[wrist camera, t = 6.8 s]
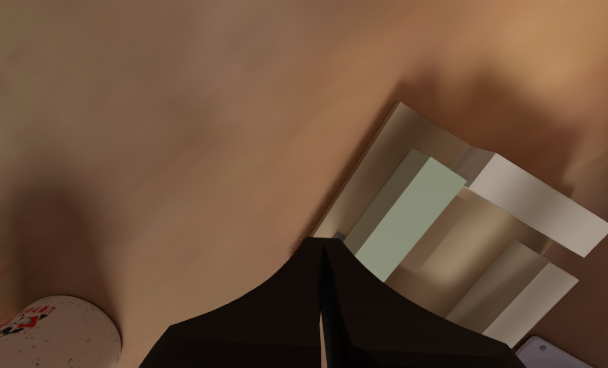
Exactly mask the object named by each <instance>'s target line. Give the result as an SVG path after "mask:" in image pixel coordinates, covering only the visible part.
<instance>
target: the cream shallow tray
mask: <svg viewBox="0 0 608 368" xmlns="http://www.w3.org/2000/svg"><path fill="white" fill-rule="evenodd" d="M412 148H413V149H415V150H417V151H419V152H421V153H424V154H426V155H428V156H430V157H432V158H433V159H435V160H436V161H438V162H439V163H441V164H442V165H444V166H445V167H447V168H448V169H450V170H451V171H453V172H454V173H456V174H457V175H459V176H461V177H462V178H464V179H465V180H467V182H466V183H465V185H464V186H463V187H462V188H461V189H460V191H459V192H458V193H457V194H456V196H455V197H454V198H453V199H452V200H451V202H450V203H449V204H448V205H447V206H446V208H445V209H444V210H443V211H442V212H441V214H440V215H439V216H438V217H437V219H436V220H435V221H434V222H433V223H432V225H431V226H430V227H429V228H428V229H427V231H426V232H425V233H424V234H423V235H422V237H421V238H420V239H419V240H418V242H417V243H416V244H415V245H414V246H413V248H412V249H411V250H410V251H409V252H408V254H407V255H406V256H405V257H404V258H403V260H402V261H401V262H400V263H399V265H398V266H397V267H396V268H395V269H394V271H393V272H392V273H391V274H390V275H389V277H388V278H387V279H386V280H385V281H384V283H385V284H386V285H388V286H389V287H391V288H392V289H393V290H395V291H396V292H398V293H399V294H401V295H402V296H404V297H405V298H407V299H409V300H411V301H412V302H414V303H416V304H417V305H419V306H421V307H423V308H424V309H426V310H428V311H430V312H432V313H434V314H436V315H438V316H440V317H442V318H444V319H447V320H449V321H451V322H453V323H455V324H457V325H460V326H462V327H464V328H467V329H470V330H472V331H475V332H477V333H480V334H483V335H485V336H488V337H490V338H493V339H496V340H498V341H501V342H504V343H506V344H507V345H508V346H509V347H510V348H512V347H513V346H514V345H515V344H516V343H517V342H518V341H519V340H520V339H521V338H522V337H523V336H524V335H525V334H526V333H527V332H528V331H529V330H530V329H531V328H532V327H533V326H534V325H535V324H536V323H537V322H538V321H539V320H540V319H541V318H542V317H543V316H544V315H545V314H546V313H547V312H548V311H549V310H550V309H551V308H552V307H553V306H554V305H555V304H556V303H557V302H558V301H559V300H560V299H561V298H562V297H563V296H564V295H565V294H566V293H567V292H568V291H569V290H570V289H571V288H572V287H573V286H574V285H575V284H576V283H577V282H578V281H579V280H578V279H577V278H575V277H574V276H572V275H571V274H569V273H568V272H566V271H565V270H563V269H562V268H560V267H559V266H557V265H556V264H554V263H553V262H551V261H550V260H548V259H547V258H545V257H544V256H543V255H544V254H545V253H546V251H547V250H548V249H549V248H550V247H551V246H552V245H553V244H554V243H555V242H557V243H559V244H561V245H563V246H564V247H566V248H568V249H570V250H571V251H573V252H575V253H577V254H578V255H580V256H582V257H585V256H586V255H587V254H588V253H589V252H590V251H591V250H592V249H593V248H594V247H595V246H596V245H597V244H598V243H599V242H600V241H601V240H602V239H603V238H604V237H605V236H606V235H607V234H608V223H607V222H606V221H604V220H602V219H601V218H599V217H598V216H596V215H594V214H593V213H591V212H590V211H588V210H586V209H585V208H583V207H582V206H580V205H579V204H577V203H575V202H574V201H572V200H571V199H569V198H567V197H566V196H564V195H563V194H561V193H559V192H558V191H556V190H555V189H553V188H551V187H550V186H548V185H547V184H545V183H543V182H542V181H540V180H539V179H537V178H535V177H534V176H532V175H531V174H529V173H527V172H526V171H524V170H523V169H521V168H520V167H518V166H516V165H515V164H513V163H512V162H510V161H508V160H507V159H505V158H504V157H502V156H500V155H499V154H497V153H495V152H491V151H487V150H483V149H480V148H476V147H472V146H471V145H469V144H468V143H466V142H464V141H463V140H461V139H460V138H458V137H456V136H455V135H453V134H452V133H450V132H448V131H447V130H445V129H444V128H442V127H440V126H439V125H437V124H436V123H434V122H432V121H431V120H429V119H428V118H426V117H424V116H423V115H421V114H420V113H418V112H416V111H415V110H413V109H412V108H410V107H408V106H407V105H405V104H404V103H402V102H395V103H394V105H393V107H392V108H391V110H390V111H389V113H388V114H387V116H386V117H385V119H384V121H383V122H382V124H381V125H380V127H379V128H378V130H377V131H376V133H375V135H374V136H373V138H372V139H371V141H370V142H369V144H368V145H367V147H366V148H365V150H364V152H363V153H362V155H361V156H360V158H359V159H358V161H357V162H356V164H355V166H354V167H353V169H352V170H351V172H350V173H349V175H348V176H347V178H346V180H345V181H344V183H343V184H342V186H341V187H340V189H339V190H338V192H337V194H336V195H335V197H334V198H333V200H332V201H331V203H330V204H329V206H328V208H327V209H326V211H325V212H324V214H323V215H322V217H321V218H320V220H319V222H318V223H317V225H316V226H315V228H314V229H313V231H312V232H311V234H310V236H309V237H324V238H340V239H341V240H342V242H343V241H344V240H345V238H346V237H347V236H348V234H349V233H350V231H351V230H352V229H353V227H354V226H355V225H356V223H357V222H358V221H359V219H360V218H361V217H362V215H363V214H364V213H365V211H366V210H367V209H368V207H369V206H370V204H371V203H372V202H373V200H374V199H375V198H376V196H377V195H378V194H379V192H380V191H381V190H382V188H383V187H384V186H385V184H386V183H387V182H388V180H389V179H390V178H391V176H392V175H393V173H394V172H395V171H396V169H397V168H398V167H399V165H400V164H401V163H402V161H403V160H404V159H405V157H406V156H407V155H408V153H409V152H410V151H411V149H412Z"/></svg>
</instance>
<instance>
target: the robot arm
mask: <svg viewBox="0 0 608 368" xmlns="http://www.w3.org/2000/svg"><path fill="white" fill-rule="evenodd" d="M320 314H321V315H322V324H323V333H324V342H325V351H326V360H327V368H593V367H591V366H590V365H588V364H586V363H584V362H582V361H581V360H579V359H577V358H575V357H574V356H572V355H570V354H568V353H566V352H565V351H563V350H561V349H559V348H558V347H556V346H554V345H552V344H550V343H549V342H547V341H545V340H543V339H542V338H540V337H537V336H533V337H531V338H529V339H528V340H527V341H526V342H525V343H524V344H523V345H522V346H521V347H520V348H519V349H518V350H517V351H516V352H515V353H514V352H513V350H512V349H511V348H510V347H509V346H508V345H507V344H506V343H504V342H501V341H498V340H496V339H493V338H490V337H488V336H485V335H483V334H480V333H477V332H475V331H472V330H470V329H467V328H464V327H462V326H460V325H457V324H455V323H453V322H451V321H449V320H447V319H444V318H442V317H440V316H438V315H436V314H434V313H432V312H430V311H428V310H426V309H424V308H423V307H421V306H419V305H417V304H416V303H414V302H412V301H411V300H409V299H407V298H405V297H404V296H402V295H401V294H399V293H398V292H396V291H395V290H393V289H392V288H391V287H389V286H388V285H386V284H385V283H384V282H382V281H381V280H380V279H379V278H377V277H376V276H375V275H374V274H373V273H372V272H371V271H369V270H368V269H367V268H366V267H365V266H364V265H363V264H362V263H361V262H360V261H359V260H358V259H357V258H356V257H355V256H354V255H353V253H352V252H351V251H350V250H349V249H348V248H347V246H346V245H345V244H344V243H343V242H342V240H341V239H340V238H324V237H306V238H305V239H304V240H303V242H302V243H301V245H300V246H299V248H298V249H297V250H296V251H295V253H294V254H293V255H292V256H291V257H290V259H289V260H288V261H287V262H286V263H285V264H284V265H283V266H282V267H281V268H280V269H279V270H278V271H277V272H276V273H275V274H274V275H272V276H271V277H270V278H269V279H268V280H266V281H265V282H264V283H262V284H261V285H260V286H258V287H256V288H255V289H253V290H251V291H250V292H248V293H247V294H245V295H243V296H242V297H240V298H238V299H236V300H234V301H232V302H230V303H228V304H226V305H224V306H222V307H219V308H217V309H215V310H213V311H210V312H208V313H205V314H202V315H200V316H197V317H194V318H191V319H188V320H185V321H183V322H180V323H177V324H174V325H170V326H169V327H168V329H167V330H166V331H165V332H164V334H163V335H162V336H161V337H160V339H159V340H158V341H157V342H156V343H155V345H154V346H153V348H152V349H151V350H150V352H149V353H148V354H147V356H146V357H145V359H144V360H143V362H142V363H141V365H140V366H139V368H321V340H320V324H319V323H320Z"/></svg>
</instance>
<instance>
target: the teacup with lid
mask: <svg viewBox="0 0 608 368" xmlns="http://www.w3.org/2000/svg"><path fill="white" fill-rule="evenodd" d="M120 353H121V340H120V336H119V333H118V331H117V329H116V327H115V325H114V323H113V322H112V321H111V319H110V318H109V317H108V316H107V315H106V314H105V313H104V312H103V311H101V310H100V309H99V308H97V307H96V306H94V305H93V304H91V303H89V302H87V301H85V300H82V299H79V298H76V297H71V296H61V295H58V296H49V297H45V298H42V299H39V300H37V301H35V302H34V303H32V304H31V305H29V306H28V307H26V308H25V309H24V310H22V311H21V312H19V313H18V314H16V315H15V316H13V317H12V318H11V319H9V320H8V321H6V322H5V323H3V324H2V325H0V368H114V367H115V365H116V364H117V362H118V360H119V357H120Z"/></svg>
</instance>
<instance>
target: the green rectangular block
mask: <svg viewBox="0 0 608 368" xmlns="http://www.w3.org/2000/svg"><path fill="white" fill-rule="evenodd" d="M466 182H467V180H465V179H464V178H462V177H461V176H459V175H457V174H456V173H454V172H453V171H451V170H450V169H448V168H447V167H445V166H444V165H442V164H441V163H439V162H438V161H436V160H435V159H433V158H432V157H430V156H428V155H426V154H424V153H421V152H419V151H417V150H415V149H413V148H412V149H411V151H410V152H409V153H408V155H407V156H406V157H405V159H404V160H403V161H402V163H401V164H400V165H399V167H398V168H397V169H396V171H395V172H394V173H393V175H392V176H391V178H390V179H389V180H388V182H387V183H386V184H385V186H384V187H383V188H382V190H381V191H380V192H379V194H378V195H377V196H376V198H375V199H374V200H373V202H372V203H371V204H370V206H369V207H368V209H367V210H366V211H365V213H364V214H363V215H362V217H361V218H360V219H359V221H358V222H357V223H356V225H355V226H354V227H353V229H352V230H351V231H350V233H349V234H348V236H347V237H346V238H345V240H344V241H343V243H344V244H345V245H346V246H347V248H348V249H349V250H350V251H351V252H352V253H353V255H354V256H355V257H356V258H357V259H358V260H359V261H360V262H361V263H362V264H363V265H364V266H365V267H366V268H367V269H368V270H369V271H371V272H372V273H373V274H374V275H375V276H376V277H377V278H379V279H380V280H381V281H382V282H384V281H385V280H386V279H387V278H388V277H389V275H390V274H391V273H392V272H393V271H394V269H395V268H396V267H397V266H398V265H399V263H400V262H401V261H402V260H403V258H404V257H405V256H406V255H407V254H408V252H409V251H410V250H411V249H412V248H413V246H414V245H415V244H416V243H417V242H418V240H419V239H420V238H421V237H422V235H423V234H424V233H425V232H426V231H427V229H428V228H429V227H430V226H431V225H432V223H433V222H434V221H435V220H436V219H437V217H438V216H439V215H440V214H441V212H442V211H443V210H444V209H445V208H446V206H447V205H448V204H449V203H450V202H451V200H452V199H453V198H454V197H455V196H456V194H457V193H458V192H459V191H460V189H461V188H462V187H463V186H464V185H465V183H466Z"/></svg>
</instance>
